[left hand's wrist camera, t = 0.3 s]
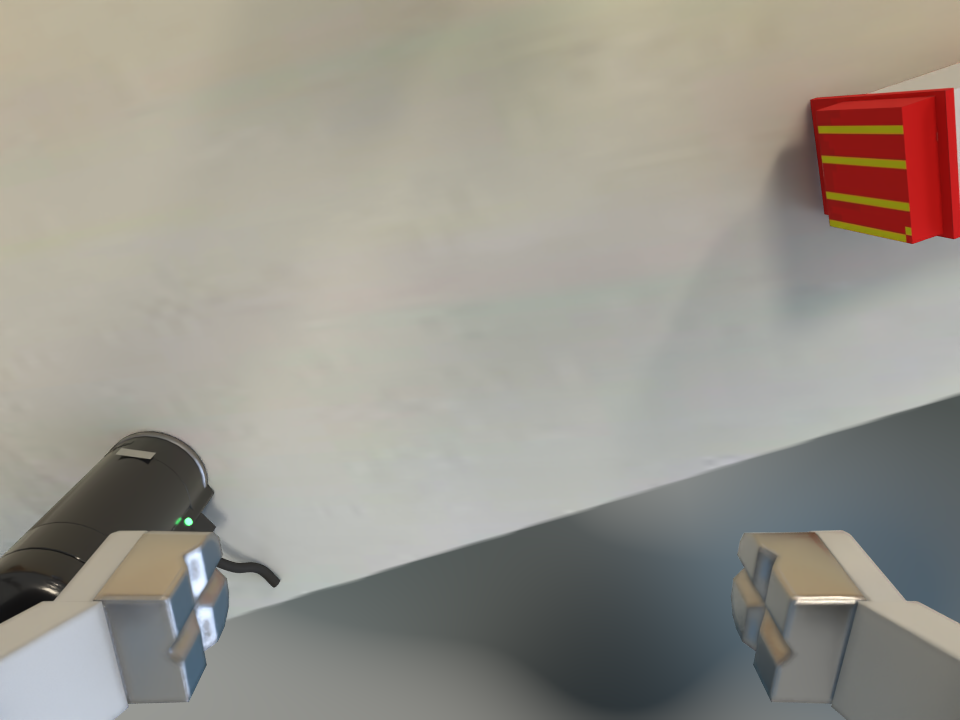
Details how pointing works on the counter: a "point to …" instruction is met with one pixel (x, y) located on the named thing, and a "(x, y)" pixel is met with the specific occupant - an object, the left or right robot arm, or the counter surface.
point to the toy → (893, 158)
